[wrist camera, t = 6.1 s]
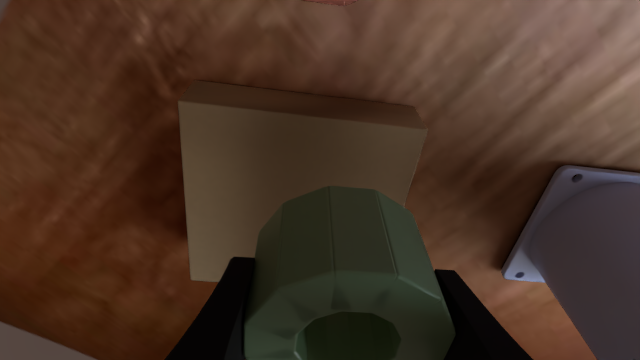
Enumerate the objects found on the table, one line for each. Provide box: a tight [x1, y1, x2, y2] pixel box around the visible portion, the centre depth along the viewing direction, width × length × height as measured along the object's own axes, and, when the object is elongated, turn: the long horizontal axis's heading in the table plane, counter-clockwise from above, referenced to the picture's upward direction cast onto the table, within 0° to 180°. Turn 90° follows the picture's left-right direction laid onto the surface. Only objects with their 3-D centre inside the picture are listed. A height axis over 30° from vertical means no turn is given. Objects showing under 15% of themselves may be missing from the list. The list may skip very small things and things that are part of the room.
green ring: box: [243, 186, 456, 360], centre depth 12 cm, size 6×6×4 cm
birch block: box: [178, 80, 428, 282], centre depth 19 cm, size 10×10×2 cm
